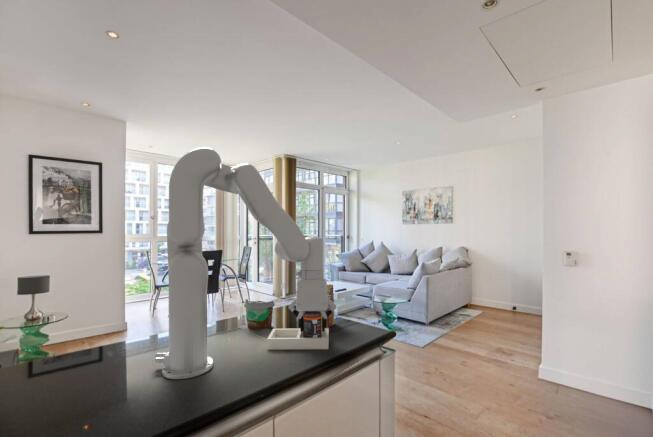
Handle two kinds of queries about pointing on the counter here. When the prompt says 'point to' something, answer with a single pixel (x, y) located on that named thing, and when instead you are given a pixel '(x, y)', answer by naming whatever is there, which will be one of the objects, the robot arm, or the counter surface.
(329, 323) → the candy box
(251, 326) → the food container
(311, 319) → the supplement bottle
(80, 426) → the counter surface
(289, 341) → the holder
